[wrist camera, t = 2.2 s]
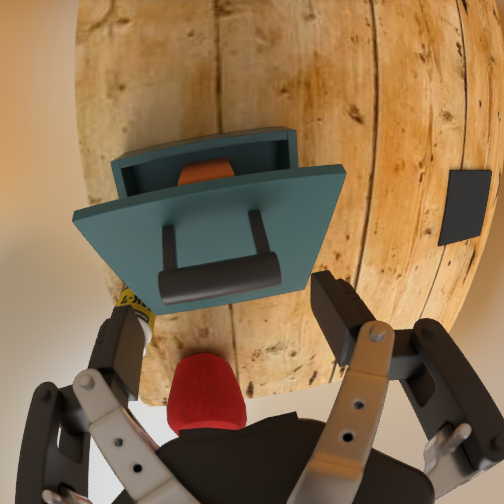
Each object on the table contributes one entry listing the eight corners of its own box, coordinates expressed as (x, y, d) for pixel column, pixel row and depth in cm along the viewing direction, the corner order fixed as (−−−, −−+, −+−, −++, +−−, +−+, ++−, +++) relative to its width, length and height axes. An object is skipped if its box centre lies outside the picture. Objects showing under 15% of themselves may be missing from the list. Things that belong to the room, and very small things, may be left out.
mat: (449, 170, 30) (451, 170, 30) (490, 170, 31) (492, 171, 31) (437, 245, 36) (439, 246, 36) (478, 234, 37) (480, 235, 37)
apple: (155, 351, 37) (149, 435, 25) (221, 331, 37) (233, 420, 25) (188, 388, 42) (192, 460, 30) (246, 372, 42) (261, 447, 30)
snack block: (184, 163, 25) (177, 182, 19) (226, 156, 25) (234, 172, 19) (193, 214, 27) (191, 247, 21) (233, 207, 28) (242, 238, 22)
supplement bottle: (160, 286, 32) (152, 337, 24) (155, 315, 34) (148, 366, 26) (121, 277, 30) (104, 327, 23) (119, 307, 32) (105, 357, 25)
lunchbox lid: (73, 210, 14) (59, 298, 11) (341, 163, 15) (382, 241, 12) (155, 308, 28) (160, 359, 25) (302, 282, 29) (316, 331, 26)
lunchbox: (123, 153, 24) (110, 162, 20) (282, 126, 25) (296, 129, 21) (160, 285, 32) (156, 309, 28) (291, 262, 33) (302, 283, 29)
